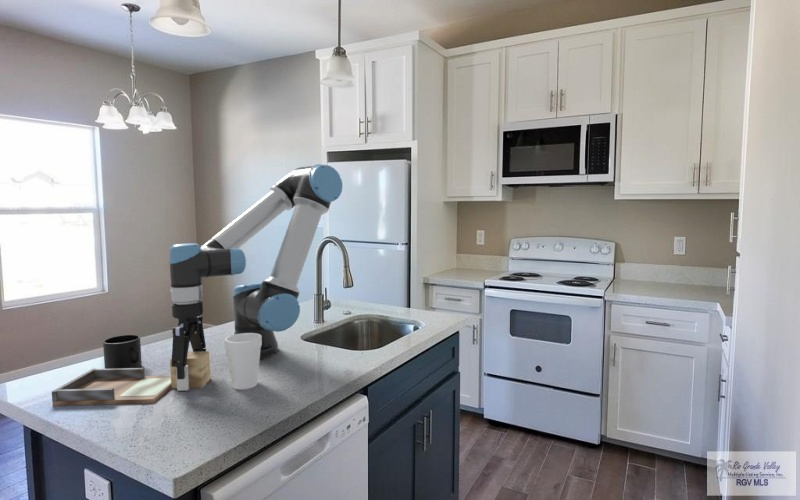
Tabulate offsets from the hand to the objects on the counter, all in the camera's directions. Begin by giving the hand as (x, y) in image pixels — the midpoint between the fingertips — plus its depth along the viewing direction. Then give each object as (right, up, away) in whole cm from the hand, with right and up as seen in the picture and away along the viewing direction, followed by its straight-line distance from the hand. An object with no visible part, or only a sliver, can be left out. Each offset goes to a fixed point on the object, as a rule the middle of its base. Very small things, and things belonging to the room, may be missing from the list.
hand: (190, 382), depth 125 cm
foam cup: (+15, 0, -1) cm, 15 cm away
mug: (-25, 0, +12) cm, 27 cm away
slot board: (-16, -1, -5) cm, 16 cm away
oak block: (0, 0, 0) cm, 0 cm away
